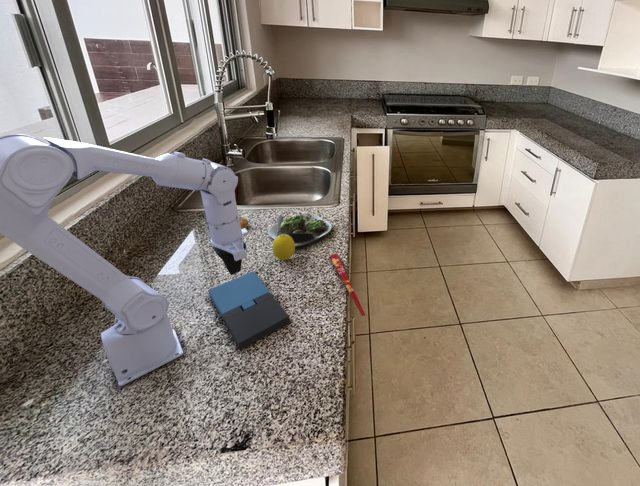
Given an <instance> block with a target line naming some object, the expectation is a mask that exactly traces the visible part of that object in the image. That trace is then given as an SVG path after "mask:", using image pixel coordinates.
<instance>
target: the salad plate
mask: <svg viewBox="0 0 640 486" xmlns="http://www.w3.org/2000/svg"><path fill="white" fill-rule="evenodd" d="M285 217H286V218H285V219H284V216H283V215H279V216H277V218H276V223H275V224H273V225H272V226H270V228H268V231H267V234H268V235H269V237H270V238H271V239H272V240H274V239H275V238H276V237H277V236H279V235H281V234H287V235H289V236H291V237H292V239H293V241H294V243H295V250H302V249H305V248H308V247H310V246H313V245H315V244H318V243H319V242H321V241H323V240H325V239H326V238H327V237H328V236H329V235H330V234H331V233H332V231H333V225H332V224H331V223H330V221H328V220H325V218H322V217H321V216H319V215H317V214H316V213H311V212H310V213H309V212H308V213H301V214H298V215H292V216H290V217H289V215H288V216H285Z"/></svg>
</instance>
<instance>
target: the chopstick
mask: <svg viewBox="0 0 640 486" xmlns="http://www.w3.org/2000/svg"><path fill="white" fill-rule="evenodd" d="M329 258H330V260H331V262H332V264H333V266H334V268H335V270H336V271H337V273H338V275H339V277H340V279H341V280H342V282H343V284H344V286H345V288H346V290H347V291H348V293H349V295H350V298H352V300H353V302H354V304H355V306H356V308H357V309H358V311H359V313H360V315H361V317H364V316H366V313H365V311H364V309H363V307H362V304H361V302H360V300H359V298H358V296H357V293H356V292H355V289H354V287H353V286H352V283H351V280H350V279H349V277H348V276H349V275H348V274H347V272H346V269H345V268H344V266H343V264H342V261H341V259H340V257H339V254H338V253H334V254H330V255H329Z"/></svg>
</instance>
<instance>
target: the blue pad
mask: <svg viewBox="0 0 640 486" xmlns="http://www.w3.org/2000/svg"><path fill="white" fill-rule="evenodd" d="M268 292H270V290H269V289H268V287H267V286H266V285H265V284H264V282H263V281H262V280H261V279H260V277H259V276H258V275H257V273H255V271H254V270H252V271H250V272H247V273H245V274H243V275H240V276H238V277H236V278H233V279H231V280H228V281H226V282H224V283H221V284H219V285H216V286H214V287H212V288H209V289H208V293H209V297H210V298H211V301H212V302H213V304H214V306H215V308H216V309H217V311H218V313H219V315H220V316H221V318H222V319H223V317H222V314H224V313H226V312H228V311H230V310H232V309H234V308H236V307H239V306H240V308H241V309H242V311H244V310H246V309H248V308H250V307H252V306H254V305H256V304H255V302H254V299H255V298H257V297H259V296H262V295H264V294H266V293H268ZM270 293H271V292H270Z"/></svg>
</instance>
